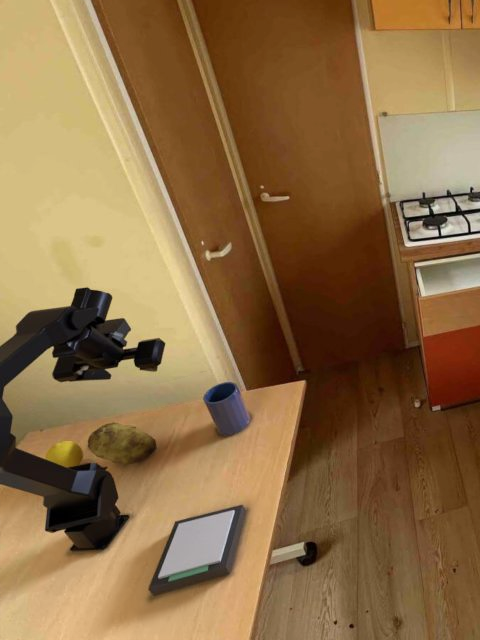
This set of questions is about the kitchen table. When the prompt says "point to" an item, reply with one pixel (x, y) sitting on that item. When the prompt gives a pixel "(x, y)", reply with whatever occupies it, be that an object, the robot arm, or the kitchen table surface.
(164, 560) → the scale
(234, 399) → the cup
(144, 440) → the potato
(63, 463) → the lemon
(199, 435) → the kitchen table surface
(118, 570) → the kitchen table surface
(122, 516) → the robot arm
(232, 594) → the kitchen table surface
